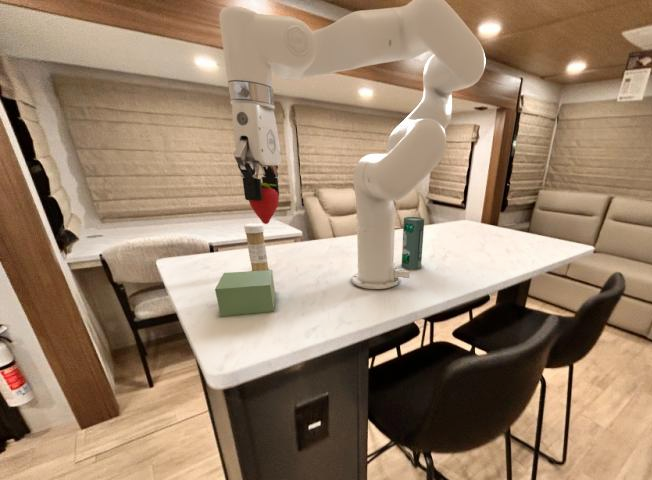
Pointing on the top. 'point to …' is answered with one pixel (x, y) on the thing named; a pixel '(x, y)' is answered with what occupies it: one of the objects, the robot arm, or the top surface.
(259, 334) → the top surface
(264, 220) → the strawberry
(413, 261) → the can
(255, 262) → the sprinkles bottle
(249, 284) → the green block
